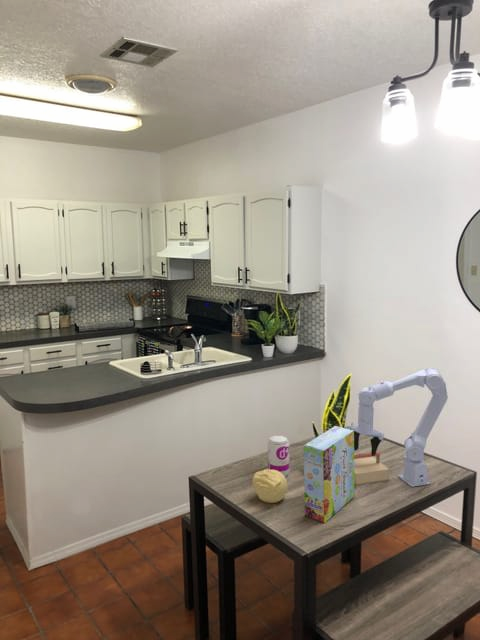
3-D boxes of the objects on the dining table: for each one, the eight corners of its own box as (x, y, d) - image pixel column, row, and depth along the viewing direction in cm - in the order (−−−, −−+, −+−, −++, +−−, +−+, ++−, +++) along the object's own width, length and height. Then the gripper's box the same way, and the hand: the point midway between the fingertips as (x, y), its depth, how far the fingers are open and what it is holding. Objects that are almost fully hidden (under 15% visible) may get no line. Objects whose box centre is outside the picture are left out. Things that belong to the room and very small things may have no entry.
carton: (388, 480, 197) (389, 469, 196) (356, 485, 193) (356, 474, 192) (373, 467, 208) (373, 456, 207) (341, 471, 204) (342, 461, 204)
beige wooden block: (381, 464, 201) (381, 452, 201) (349, 468, 198) (349, 456, 197) (373, 457, 207) (373, 446, 206) (342, 462, 204) (342, 450, 203)
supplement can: (292, 476, 201) (292, 440, 198) (273, 480, 198) (273, 444, 195) (283, 468, 208) (283, 433, 206) (265, 471, 205) (264, 436, 203)
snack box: (333, 490, 189) (334, 424, 185) (355, 498, 184) (356, 430, 180) (302, 515, 173) (302, 443, 169) (324, 524, 167) (325, 450, 163)
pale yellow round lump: (248, 499, 184) (247, 471, 182) (268, 487, 193) (268, 460, 191) (273, 510, 176) (272, 481, 174) (293, 497, 185) (293, 469, 183)
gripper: (387, 420, 195) (386, 454, 197) (354, 412, 205) (353, 444, 207) (379, 425, 190) (377, 459, 192) (345, 416, 200) (344, 449, 202)
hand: (364, 452), depth 199 cm, fingers open, 7 cm apart
